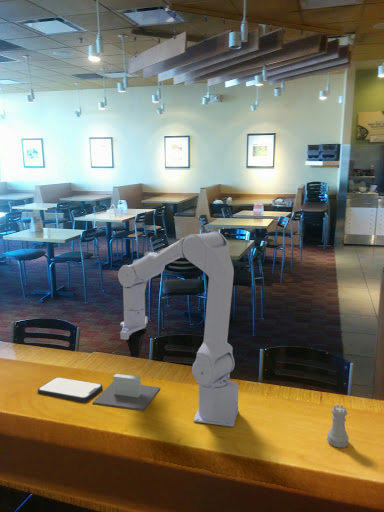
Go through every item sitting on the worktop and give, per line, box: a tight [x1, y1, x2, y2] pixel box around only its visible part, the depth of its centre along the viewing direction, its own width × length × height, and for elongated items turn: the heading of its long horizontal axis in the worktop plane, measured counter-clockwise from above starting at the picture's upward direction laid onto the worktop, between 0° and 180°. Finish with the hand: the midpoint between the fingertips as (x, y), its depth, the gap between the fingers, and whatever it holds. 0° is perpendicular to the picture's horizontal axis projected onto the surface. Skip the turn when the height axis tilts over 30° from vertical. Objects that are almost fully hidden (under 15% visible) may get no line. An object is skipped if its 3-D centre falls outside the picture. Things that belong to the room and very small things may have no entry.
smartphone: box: [37, 377, 104, 403], centre depth 112 cm, size 9×2×16 cm
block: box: [112, 373, 142, 397], centre depth 109 cm, size 7×2×5 cm, turn 75°
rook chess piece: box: [326, 404, 350, 449], centre depth 88 cm, size 4×4×8 cm
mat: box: [92, 381, 161, 412], centre depth 109 cm, size 14×12×1 cm
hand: (135, 355), depth 114 cm, fingers closed
